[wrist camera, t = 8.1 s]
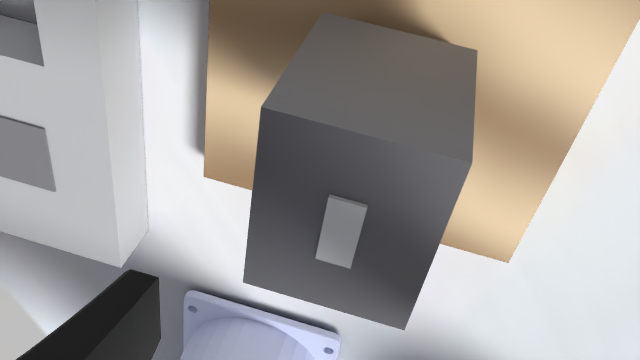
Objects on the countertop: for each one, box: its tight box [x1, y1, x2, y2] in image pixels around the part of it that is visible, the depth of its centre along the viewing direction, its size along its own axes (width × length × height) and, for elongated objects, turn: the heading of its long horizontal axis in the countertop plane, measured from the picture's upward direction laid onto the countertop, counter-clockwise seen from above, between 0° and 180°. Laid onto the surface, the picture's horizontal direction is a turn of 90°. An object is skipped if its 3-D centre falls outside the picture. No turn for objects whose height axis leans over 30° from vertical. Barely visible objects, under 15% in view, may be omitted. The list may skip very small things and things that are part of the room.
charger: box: [243, 12, 478, 330], centre depth 15 cm, size 5×4×8 cm
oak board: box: [204, 0, 640, 263], centre depth 18 cm, size 12×12×1 cm
